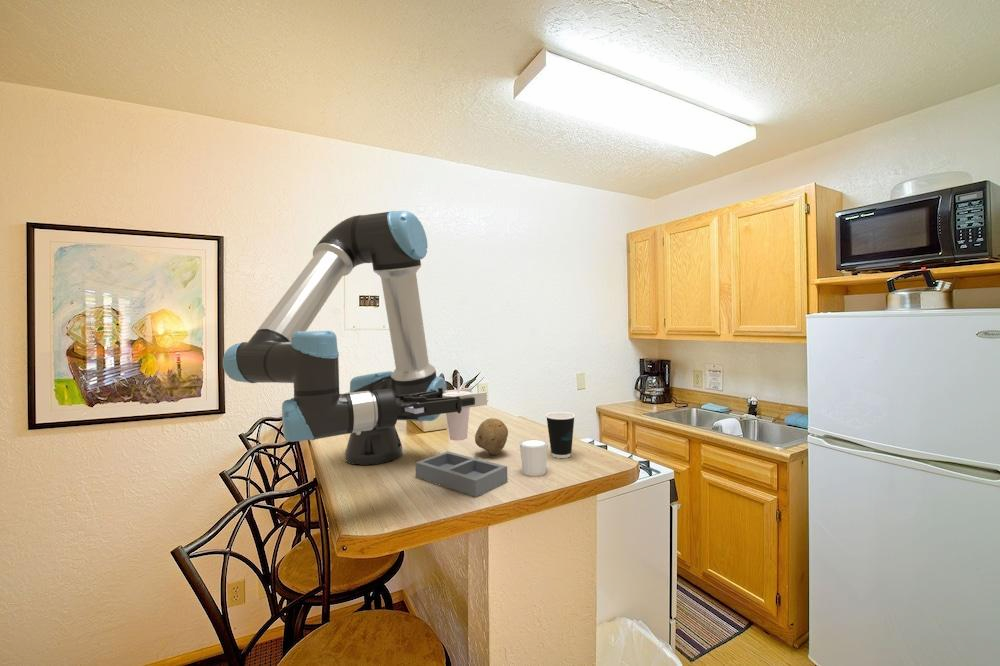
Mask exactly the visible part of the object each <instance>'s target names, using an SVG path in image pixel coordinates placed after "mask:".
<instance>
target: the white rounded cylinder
mask: <svg viewBox="0 0 1000 666" xmlns="http://www.w3.org/2000/svg"><path fill="white" fill-rule="evenodd" d="M548 447H549V443H548V442H547V441H546V440H542V439H524V440H522V441H520V442H519V449H520V450H519V451H520V460H521V466H522V473H523V474H524V475H525V476H528V477H529V476H530V477H539V476H543V475H545V474H546V473H547V464H548V450H549V448H548Z"/></svg>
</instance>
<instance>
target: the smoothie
mask: <svg viewBox="0 0 1000 666" xmlns="http://www.w3.org/2000/svg"><path fill="white" fill-rule="evenodd" d="M460 375H461V373H460V372H457V373H456V378H457V389H458V391H454V392H447V393H444V394H443V395H442V396H443V398H447V397H456V396H458V395H464V394H472V393H473V392H472V393H471V392H467V391H460V389H461V376H460ZM470 409H471V407H469V408H462V411H461V413H458V412H451V413H445V416H446V421H447V428H448V434H449V440H451V441H464V440H467V439H468V434H469V433H468V431H469V422H470V421H469V420H470V419H469V418H470V417H469V416H470Z"/></svg>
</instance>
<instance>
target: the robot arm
mask: <svg viewBox="0 0 1000 666" xmlns="http://www.w3.org/2000/svg"><path fill="white" fill-rule="evenodd" d="M427 238H428V237H427V234H426V231H425V229H424V226H423V224H422V222H421V221H420V220H419V218H418V217H417V216H416V215H415V214H414V213H413V212H411V211H408V210H391V211H386V212H377V213H370V214H369V213H368V214H359V215H352V216H350V217H348V218H346V219H344V220H342V221H340V222H338V223H337V224H336V225H335V226H333V228H331V229H330V230H329V231H327V233H325V235H324V236H322V238H321V239H320V240H319V242H317V244H316V245H315V247H314V248H313V250H312V258H311V260H309V262H308V263H307V265H305V267H304V268H303V269H302V271H301V273H300V274H299V275H298V277H296V279H295V280H294V281H293V283H292V284H291V285H290V287H289V288H288V289H287V291H285V293H284V295H283V296H282V297H281V298H280V300H279V301H278V302H277V303H276V305H275V306H274V307H273V309H272V310H271V312H270V313H269V314H268V316H267V317H266V318H265V319H264V321H263V322H262V323H261V325H260V326H259V327H258V329H257V330H256V331H255V332H254V334H253V335H252V336H251V337H250V338H249V340H248V341H244V342H243V341H242V342H239V343H235V344H232V345H231V346H230V347H228V348H227V349H226V351H225V352H224V355H223V357H222V368H223V371H224V372H225V375H226V376H227V377H228V378H230V379H231V380H232V381H235V382H242V383H249V384H258V383H280V384H285V383H286V384H293V397H291V398H289V399H286V400H283V402H282V404H281V415H282V416H281V422H282V431H283V437H284V439H285V440H286V441H288V442H290V443H292V442H302V441H303V442H304V441H315V440H319V439H325V438H326V439H327V438H331V437H337V436H341V435H348V434H349V437H348V441H347V444H346V449H345V453H344V455H345V456H344V457H345V458H344V459H346V460H347V461H348V462H350V463H353V464H352V465H355V464H360V465H359V466H368V465H367V464H372V465H379V463H380V464H383V462H385V463H387V462H390V461H391V460H392V461H394V460H396V459H399V458H400V457H401V456H402V455H403V445H402V442H401V439H400V437H399V433H398V431H397V428H396V424H397V422H398V421H411V422H420V423H421V422H432V421H435V420H437V419H438V418H439V417H440V416H441V415H442V414H446V413H451V412H458V413H461V411H462V408H469V407H470V408H475V407H482V406H487V405H488V394H487V393H488V392H487V391H480V392H474V393H473V392H472V388H471V387H466V388H465V387H464V388H460V391H467V392H471V393H472V394H464V395H458V396H456V397H447V398H443V396H442V395H443V394H444V393H447V392H454V391H458V388H457V389H450V390H449V389H447V382H446V381H445V378H443V377H442V376H437V371H436V370H437V369H436V368H435V366H434V365H432V364H431V363H430V362H429V355H428V348H427V340H426V333H425V327H424V321H423V319H424V318H423V313H422V312H423V311H422V307H421V300H420V299H421V298H420V293H419V286H418V284H419V283H418V279H417V272H418V271H419V269H420V268H421V267H422V263H421V260H423V259H425V258H426V256H427V253H428V247H429V246H428V245H429V244H428V239H427ZM362 264H372V270H373V271H372V272H374V273H375V274H377V275H378V276H379V277H380V279H381V284H382V285H381V286H382V292H383V298H384V304H385V311H386V317H387V322H388V329H389V335H390V341H391V349H392V354H393V359H394V365H395V369H394V370H393V371H392V370H390V371H381V372H375V373H368V374H364V375H363V374H362V375H359V376H354V377H352V378H351V380H350V382H349V392H345V393H340V370H339V368H340V366H339V363H340V362H339V361H340V359H339V356H340V352H339V350H338V341H337V340H338V339H337V334H336V333H335V332H334V331H332V330H315V331H313V330H312V331H311V330H308V329H309V327H310V326H311V325H312V323H313V322H314V320H315V319H316V317H317V315H318V314H319V312H320V311H321V309H322V308H323V306H324V305H325V303H326V302H327V301H328V299H329V297H330V296H331V294H332V293H333V291H334V290H335V288H336V287H337V285H338V284H339V282H340V280H341V279H342V277H345V276H347V275H349V274H351V272H352V271H353V269H354V268H355V267H357V266H360V265H362ZM307 330H308V331H307ZM346 460H345V461H346ZM348 462H347V463H348ZM350 463H349V464H350Z"/></svg>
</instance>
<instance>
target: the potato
mask: <svg viewBox="0 0 1000 666" xmlns="http://www.w3.org/2000/svg"><path fill="white" fill-rule="evenodd" d="M508 434H509V430H508V427H507V425H506V424H505V423H504V421H502V420H501V419H498V418H492V417H491V418H487V419H485V420H484V421H482V422H481V423H480V424H479V426H478V428H477V431H476V433H475V435H474V442H475V445H477V446H478V447H479V448H481V449H483V450H484V451H486V452H487V453H488V454H490V455H492V456H496V455H498V454H500V453H501V452H502V450H503V449H504V448H505V446H506V443H507V440H508V436H509V435H508Z"/></svg>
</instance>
